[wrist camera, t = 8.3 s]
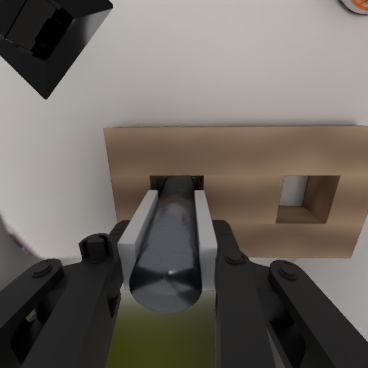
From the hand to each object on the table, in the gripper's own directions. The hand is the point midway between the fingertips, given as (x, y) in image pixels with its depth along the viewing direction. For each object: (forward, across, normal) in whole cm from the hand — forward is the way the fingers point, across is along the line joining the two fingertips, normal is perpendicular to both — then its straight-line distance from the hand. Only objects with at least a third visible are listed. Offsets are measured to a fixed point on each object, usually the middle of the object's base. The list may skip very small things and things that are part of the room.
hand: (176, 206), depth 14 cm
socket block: (+5, -6, 0) cm, 7 cm away
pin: (+5, 0, 0) cm, 5 cm away
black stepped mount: (+5, +10, -14) cm, 18 cm away
